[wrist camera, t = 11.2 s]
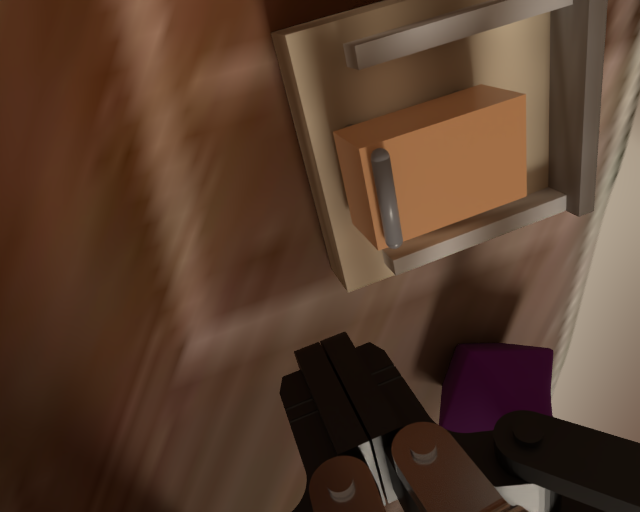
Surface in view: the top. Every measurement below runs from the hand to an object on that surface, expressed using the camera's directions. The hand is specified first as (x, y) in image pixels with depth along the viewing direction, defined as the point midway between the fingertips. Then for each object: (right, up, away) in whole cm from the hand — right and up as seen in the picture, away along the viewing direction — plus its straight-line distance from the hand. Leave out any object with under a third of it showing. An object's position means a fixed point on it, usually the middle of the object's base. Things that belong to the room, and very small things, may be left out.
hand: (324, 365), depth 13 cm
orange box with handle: (+5, +8, +12) cm, 15 cm away
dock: (+6, +11, +15) cm, 19 cm away
